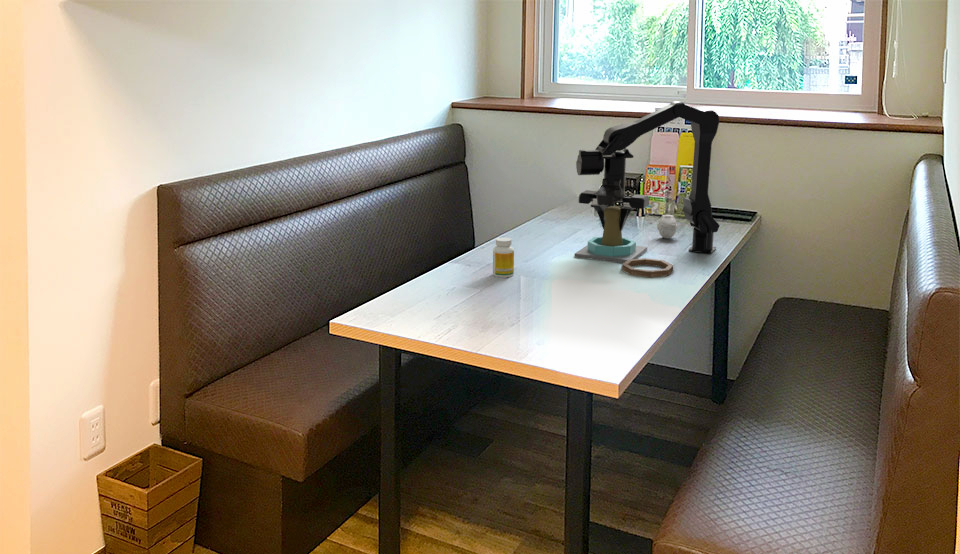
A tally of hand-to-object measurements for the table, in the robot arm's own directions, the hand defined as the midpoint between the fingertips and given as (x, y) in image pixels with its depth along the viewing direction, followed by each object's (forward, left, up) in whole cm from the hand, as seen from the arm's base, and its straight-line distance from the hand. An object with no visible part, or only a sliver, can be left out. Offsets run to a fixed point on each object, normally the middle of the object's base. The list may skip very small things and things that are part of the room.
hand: (612, 229), depth 251 cm
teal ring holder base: (0, 0, -7) cm, 7 cm away
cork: (0, 0, -5) cm, 5 cm away
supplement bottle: (+33, -18, -7) cm, 38 cm away
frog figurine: (-25, +9, -7) cm, 27 cm away
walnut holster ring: (+12, +14, -7) cm, 20 cm away
